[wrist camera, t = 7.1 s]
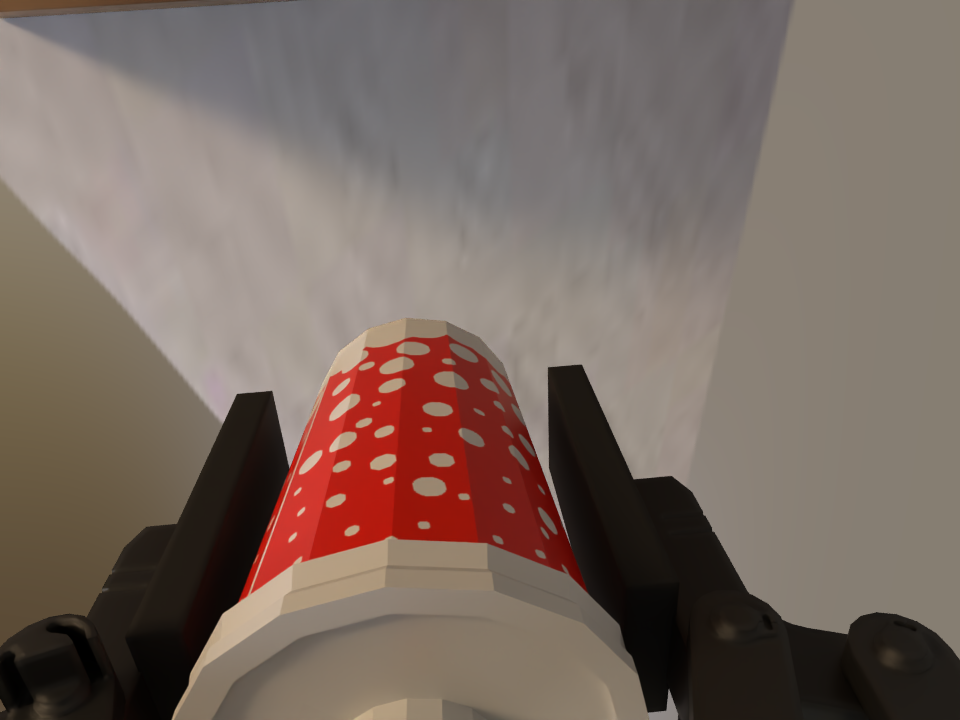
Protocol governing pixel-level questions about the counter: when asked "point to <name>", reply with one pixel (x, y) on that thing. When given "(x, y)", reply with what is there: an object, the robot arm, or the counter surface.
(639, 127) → the counter surface
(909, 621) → the robot arm
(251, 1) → the brown open-topped box
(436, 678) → the beverage cup
